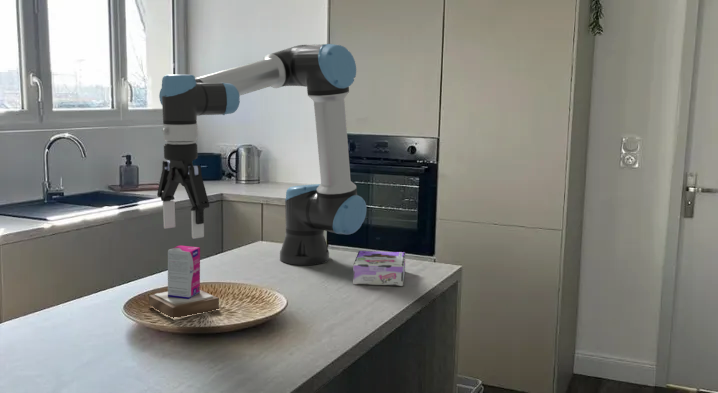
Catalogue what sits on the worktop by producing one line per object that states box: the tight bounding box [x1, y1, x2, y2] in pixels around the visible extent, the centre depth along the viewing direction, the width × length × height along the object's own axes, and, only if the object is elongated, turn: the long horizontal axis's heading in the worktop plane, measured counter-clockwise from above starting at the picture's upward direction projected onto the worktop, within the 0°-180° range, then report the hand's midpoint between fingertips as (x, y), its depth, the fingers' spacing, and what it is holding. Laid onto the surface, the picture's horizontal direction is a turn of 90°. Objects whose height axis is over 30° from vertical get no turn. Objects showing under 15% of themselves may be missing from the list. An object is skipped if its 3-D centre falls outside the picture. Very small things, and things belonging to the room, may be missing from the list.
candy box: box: [352, 250, 406, 287], centre depth 201 cm, size 14×6×16 cm
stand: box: [148, 289, 220, 318], centre depth 171 cm, size 12×12×3 cm
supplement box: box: [167, 245, 201, 299], centre depth 170 cm, size 6×6×12 cm
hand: (183, 232), depth 169 cm, fingers open, 13 cm apart
